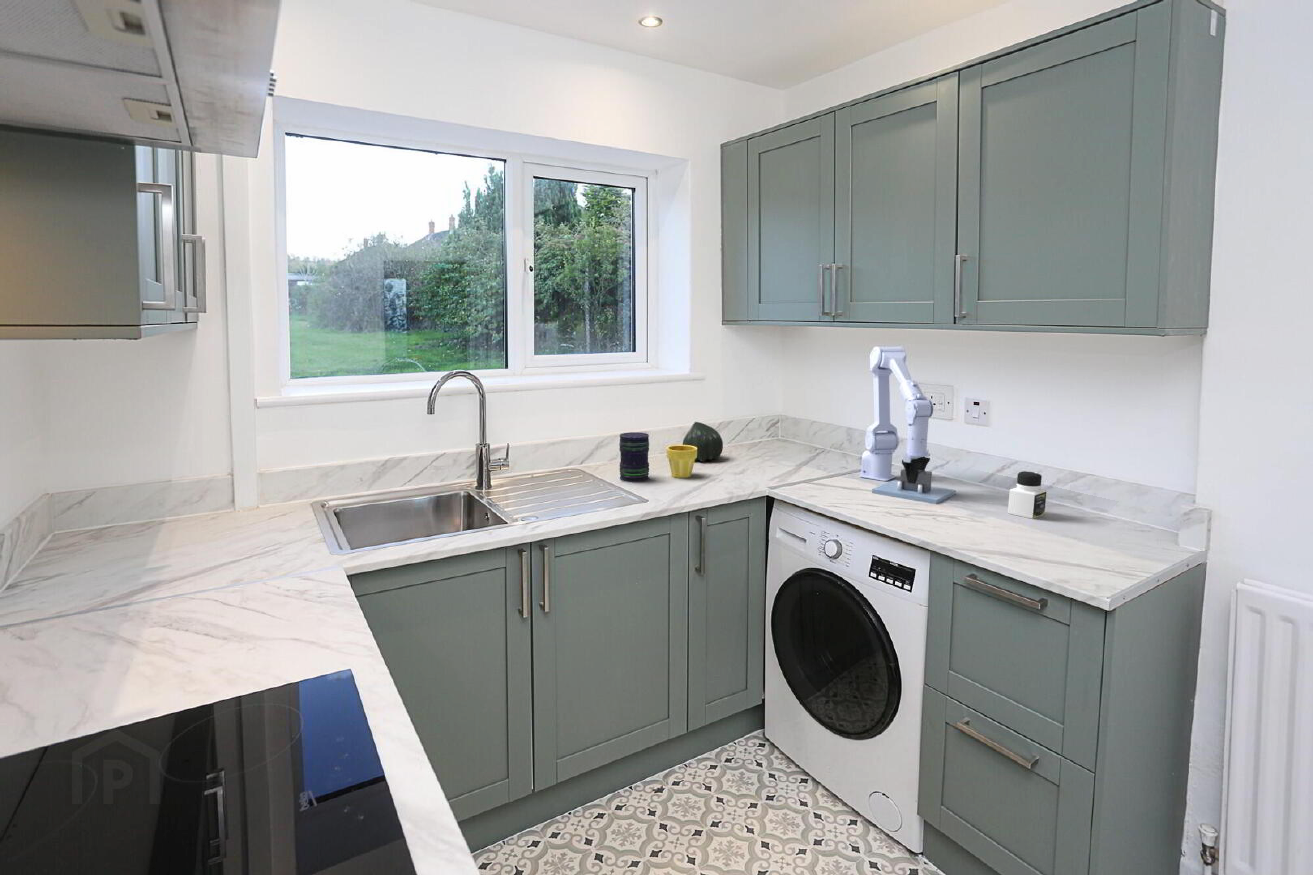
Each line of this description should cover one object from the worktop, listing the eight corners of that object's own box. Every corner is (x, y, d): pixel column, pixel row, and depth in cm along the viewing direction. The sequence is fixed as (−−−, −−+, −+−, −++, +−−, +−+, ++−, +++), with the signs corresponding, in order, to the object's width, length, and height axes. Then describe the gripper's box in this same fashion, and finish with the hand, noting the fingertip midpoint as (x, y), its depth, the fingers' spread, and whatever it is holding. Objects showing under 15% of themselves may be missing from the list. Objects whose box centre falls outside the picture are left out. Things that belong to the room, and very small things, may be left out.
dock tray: (872, 492, 234) (872, 480, 234) (893, 483, 246) (894, 472, 246) (936, 504, 221) (937, 491, 221) (955, 493, 233) (956, 481, 233)
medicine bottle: (1033, 519, 206) (1037, 476, 204) (1007, 513, 212) (1010, 472, 209) (1044, 514, 211) (1048, 472, 209) (1019, 509, 216) (1022, 468, 214)
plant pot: (697, 479, 251) (697, 450, 249) (666, 479, 251) (666, 450, 250) (696, 472, 261) (696, 444, 260) (666, 472, 262) (666, 444, 260)
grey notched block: (899, 489, 234) (900, 469, 233) (905, 486, 238) (906, 467, 237) (925, 493, 229) (926, 473, 228) (930, 490, 232) (932, 471, 231)
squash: (734, 448, 277) (718, 414, 283) (700, 453, 270) (684, 418, 276) (718, 467, 288) (703, 434, 294) (685, 473, 281) (670, 439, 287)
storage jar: (650, 475, 256) (650, 432, 253) (647, 482, 246) (647, 437, 244) (621, 475, 257) (621, 432, 254) (617, 481, 247) (617, 437, 245)
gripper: (920, 443, 223) (918, 487, 225) (939, 436, 234) (936, 479, 236) (897, 440, 227) (895, 484, 230) (916, 434, 238) (914, 476, 240)
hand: (914, 481), depth 233 cm, fingers closed on grey notched block, 4 cm apart
